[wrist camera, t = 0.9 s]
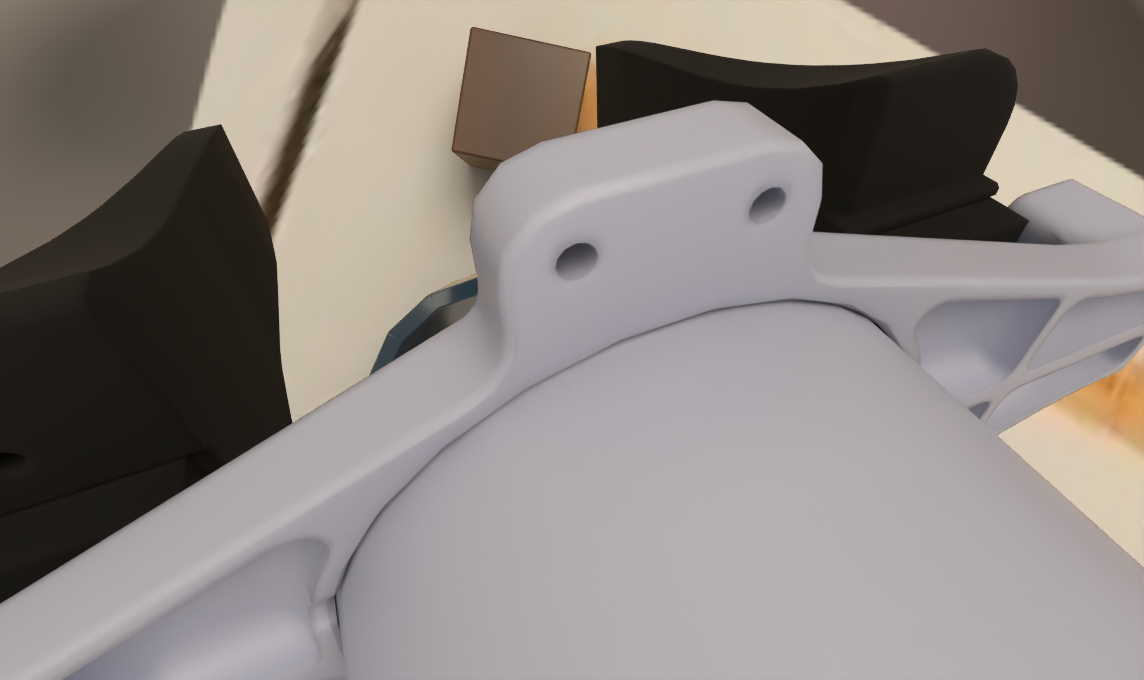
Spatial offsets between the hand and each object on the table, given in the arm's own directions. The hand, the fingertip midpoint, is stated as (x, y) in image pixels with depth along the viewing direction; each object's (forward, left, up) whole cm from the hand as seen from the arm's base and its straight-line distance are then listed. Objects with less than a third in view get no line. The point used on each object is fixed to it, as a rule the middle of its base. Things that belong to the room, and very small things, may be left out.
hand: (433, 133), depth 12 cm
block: (+1, -3, -16) cm, 16 cm away
